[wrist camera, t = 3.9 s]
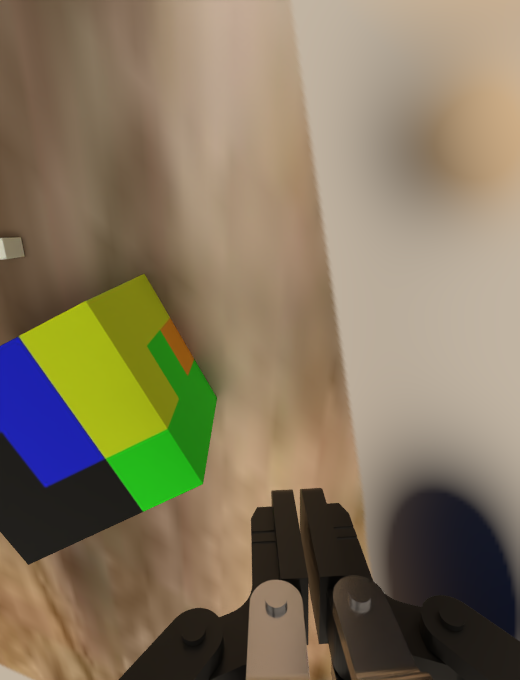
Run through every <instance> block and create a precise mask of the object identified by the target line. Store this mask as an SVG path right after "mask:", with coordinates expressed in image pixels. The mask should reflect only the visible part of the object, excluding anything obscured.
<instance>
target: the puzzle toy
mask: <svg viewBox="0 0 520 680" xmlns="http://www.w3.org/2000/svg"><path fill="white" fill-rule="evenodd" d="M216 401H217V397H216V396H215V394H214V392H213V390H212V389H211V387H210V385H209V384H208V382H207V380H206V378H205V377H204V375H203V373H202V372H201V370H200V368H199V367H198V365H197V363H196V361H195V360H194V358H193V356H192V355H191V353H190V351H189V349H188V348H187V346H186V344H185V343H184V341H183V339H182V337H181V336H180V334H179V332H178V331H177V329H176V327H175V325H174V324H173V322H172V320H171V319H170V317H169V315H168V313H167V312H166V310H165V308H164V307H163V305H162V303H161V301H160V300H159V298H158V296H157V295H156V293H155V291H154V290H153V288H152V286H151V284H150V283H149V281H148V279H147V278H146V276H145V274H143V275H140V276H138V277H136V278H134V279H132V280H130V281H128V282H125V283H123V284H121V285H119V286H117V287H115V288H112V289H110V290H108V291H106V292H104V293H102V294H100V295H97V296H95V297H93V298H91V299H89V300H87V301H85V302H83V303H81V304H79V305H77V306H75V307H73V308H71V309H69V310H68V311H66V312H64V313H62V314H60V315H58V316H56V317H54V318H52V319H50V320H49V321H47V322H45V323H43V324H41V325H39V326H37V327H35V328H33V329H31V330H30V331H28V332H26V333H24V334H22V335H20V336H18V337H16V338H14V339H13V340H11V341H9V342H7V343H5V344H3V345H1V346H0V532H1V533H2V534H3V536H4V537H5V538H6V539H7V540H8V541H9V543H10V544H11V545H12V546H13V547H14V548H15V550H16V551H17V552H18V553H19V554H20V555H21V557H22V558H23V559H24V560H25V561H26V563H27V564H28V565H29V564H31V563H33V562H35V561H38V560H40V559H42V558H44V557H46V556H48V555H51V554H53V553H55V552H57V551H59V550H61V549H64V548H66V547H68V546H70V545H72V544H74V543H76V542H79V541H81V540H83V539H85V538H87V537H89V536H92V535H94V534H96V533H98V532H100V531H102V530H105V529H107V528H109V527H111V526H113V525H115V524H118V523H120V522H122V521H124V520H126V519H128V518H131V517H133V516H135V515H137V514H139V513H141V512H144V511H146V510H148V509H150V508H152V507H154V506H157V505H159V504H161V503H163V502H165V501H167V500H170V499H172V498H174V497H176V496H178V495H180V494H183V493H185V492H187V491H189V490H191V489H193V488H196V487H198V486H200V485H202V484H203V480H204V474H205V468H206V462H207V456H208V450H209V444H210V438H211V432H212V425H213V419H214V413H215V407H216Z"/></svg>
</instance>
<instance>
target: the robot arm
mask: <svg viewBox="0 0 520 680" xmlns="http://www.w3.org/2000/svg"><path fill="white" fill-rule="evenodd" d="M271 496H272V507H257V509H256V511H255V512H254V514H253V516H252V518H251V536H252V591H251V594H250V596H249V598H248V600H247V601H246V602H245V603H244V604H243V605H242V606H241V607H240V608H239V609H237V610H236V611H234V612H231V613H229V614H227V615H224V616H222V617H218V616H217V615H216V614H215V613H214V612H212V611H210V610H208V609H204V608H195V609H190V610H188V611H185V612H183V613H182V614H180V615H179V616H178V617H177V618H176V619H174V621H173V622H172V623H171V624H170V625H169V626H168V627H167V628H166V629H165V630H164V631H163V632H162V634H161V635H160V636H159V637H158V638H157V639H156V640H155V641H154V642H153V643H152V644H151V645H150V646H149V648H148V649H147V650H146V651H145V652H144V653H143V654H142V655H141V656H140V657H139V658H138V659H137V660H136V662H135V663H134V664H133V665H132V666H131V667H130V668H129V669H128V670H127V671H126V672H125V673H124V675H123V676H122V677H121V678H120V679H119V680H310V677H309V666H308V655H307V645H308V584H309V589H310V595H311V601H312V606H313V612H314V618H315V623H316V629H317V635H318V640H319V644H327V643H329V648H330V653H331V675H332V680H520V641H518V640H517V639H515V638H514V637H512V636H511V635H509V634H508V633H507V632H505V631H504V630H502V629H501V628H499V627H498V626H496V625H495V624H493V623H492V622H491V621H489V620H488V619H486V618H485V617H483V616H482V615H480V614H479V613H477V612H476V611H475V610H473V609H472V608H470V607H469V606H467V605H466V604H464V603H463V602H461V601H459V600H457V599H455V598H452V597H449V596H444V595H437V596H432V597H430V598H428V599H427V600H426V601H425V602H424V603H423V606H422V607H418V606H414V605H410V604H406V603H402V602H399V601H397V600H394V599H392V598H390V597H389V596H387V595H386V594H384V592H383V590H382V589H381V588H380V587H379V586H378V585H377V584H376V583H375V582H374V581H373V579H372V577H371V574H370V571H369V568H368V566H367V563H366V560H365V557H364V555H363V552H362V549H361V546H360V543H359V541H358V539H357V535H356V532H355V530H354V528H353V524H352V521H351V518H350V516H349V513H348V512H347V511H346V510H345V509H344V508H343V507H342V506H341V505H340V504H339V503H331V504H327V503H326V500H325V497H324V493H323V490H322V488H314V489H300V528H299V523H298V517H297V511H296V506H295V500H294V495H293V490H276V491H272V492H271ZM300 533H301V534H300Z"/></svg>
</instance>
